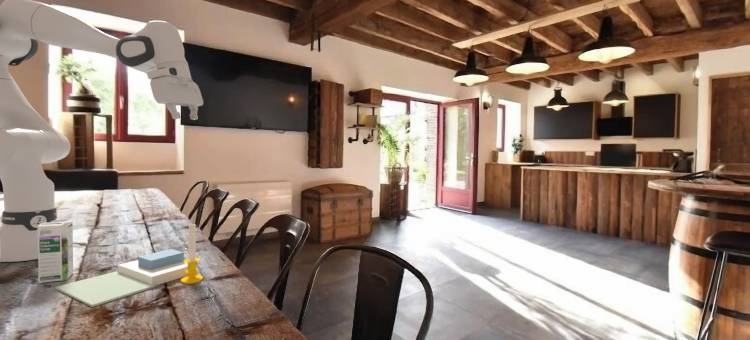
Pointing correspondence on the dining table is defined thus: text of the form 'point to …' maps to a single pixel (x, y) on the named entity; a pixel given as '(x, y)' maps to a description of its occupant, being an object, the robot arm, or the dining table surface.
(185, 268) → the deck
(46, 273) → the syrup box
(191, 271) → the candle
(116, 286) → the mat
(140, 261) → the tile
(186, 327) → the dining table surface
